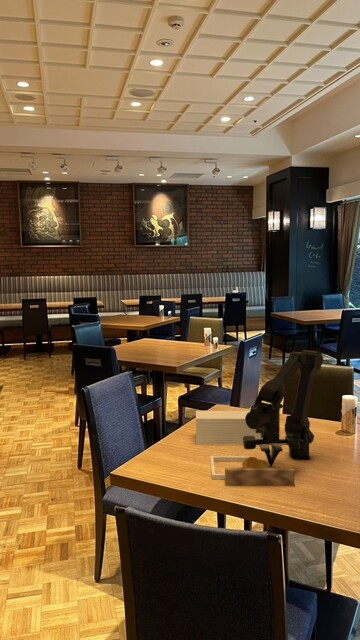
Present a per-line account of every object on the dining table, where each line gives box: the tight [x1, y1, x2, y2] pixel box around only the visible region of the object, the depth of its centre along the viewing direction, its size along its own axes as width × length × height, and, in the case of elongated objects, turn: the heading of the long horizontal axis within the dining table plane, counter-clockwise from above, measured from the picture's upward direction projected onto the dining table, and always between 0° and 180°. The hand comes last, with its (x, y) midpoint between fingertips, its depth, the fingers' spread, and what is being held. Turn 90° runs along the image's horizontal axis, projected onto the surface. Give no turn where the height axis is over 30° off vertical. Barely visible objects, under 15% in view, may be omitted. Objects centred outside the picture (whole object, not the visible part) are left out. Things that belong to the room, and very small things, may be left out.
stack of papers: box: [195, 410, 262, 446], centre depth 194 cm, size 32×11×11 cm, turn 88°
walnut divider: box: [224, 467, 296, 487], centre depth 154 cm, size 22×2×5 cm, turn 89°
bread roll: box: [241, 456, 270, 468], centre depth 165 cm, size 8×9×4 cm
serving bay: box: [209, 455, 248, 480], centre depth 166 cm, size 13×16×2 cm
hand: (270, 466), depth 165 cm, fingers closed
